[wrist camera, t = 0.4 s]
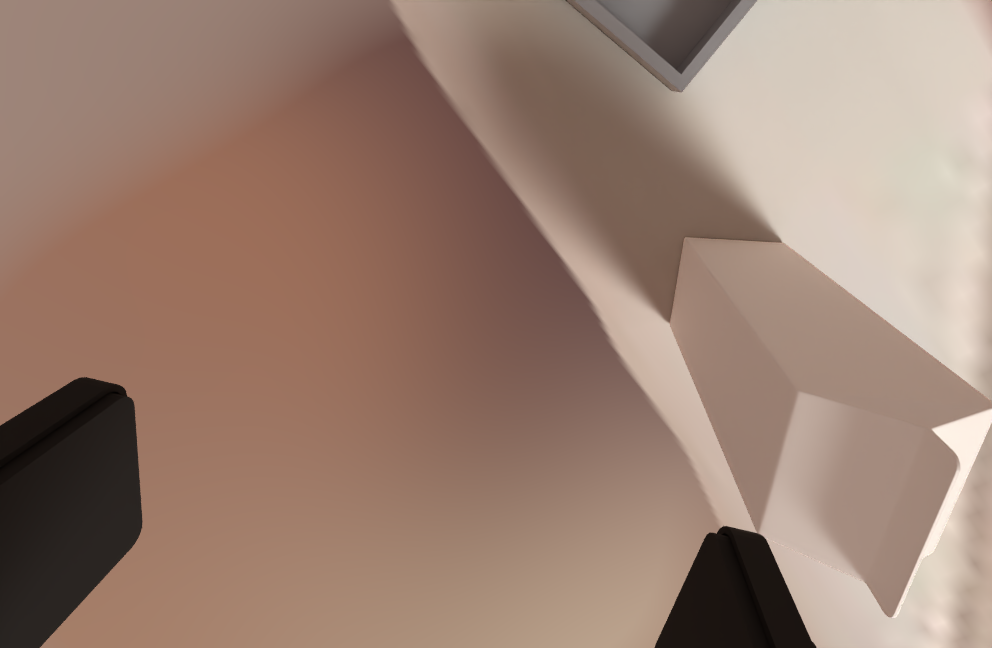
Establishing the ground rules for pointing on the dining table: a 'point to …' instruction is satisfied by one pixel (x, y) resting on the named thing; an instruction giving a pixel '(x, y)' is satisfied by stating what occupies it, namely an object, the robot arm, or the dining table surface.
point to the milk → (825, 411)
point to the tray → (666, 32)
